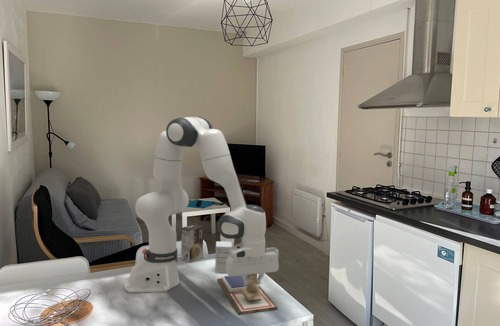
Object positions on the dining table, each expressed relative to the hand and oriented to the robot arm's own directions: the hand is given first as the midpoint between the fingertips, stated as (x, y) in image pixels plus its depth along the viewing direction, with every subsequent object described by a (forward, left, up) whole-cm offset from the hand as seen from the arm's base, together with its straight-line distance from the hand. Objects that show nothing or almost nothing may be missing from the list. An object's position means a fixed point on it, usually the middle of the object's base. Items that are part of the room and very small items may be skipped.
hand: (251, 284), depth 145 cm
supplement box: (-2, +33, -7) cm, 34 cm away
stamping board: (0, +7, -7) cm, 10 cm away
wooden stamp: (0, 0, -5) cm, 5 cm away
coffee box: (-13, +51, -7) cm, 53 cm away
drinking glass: (+3, +45, -7) cm, 46 cm away
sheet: (0, 0, -7) cm, 7 cm away
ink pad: (0, +15, -7) cm, 17 cm away
